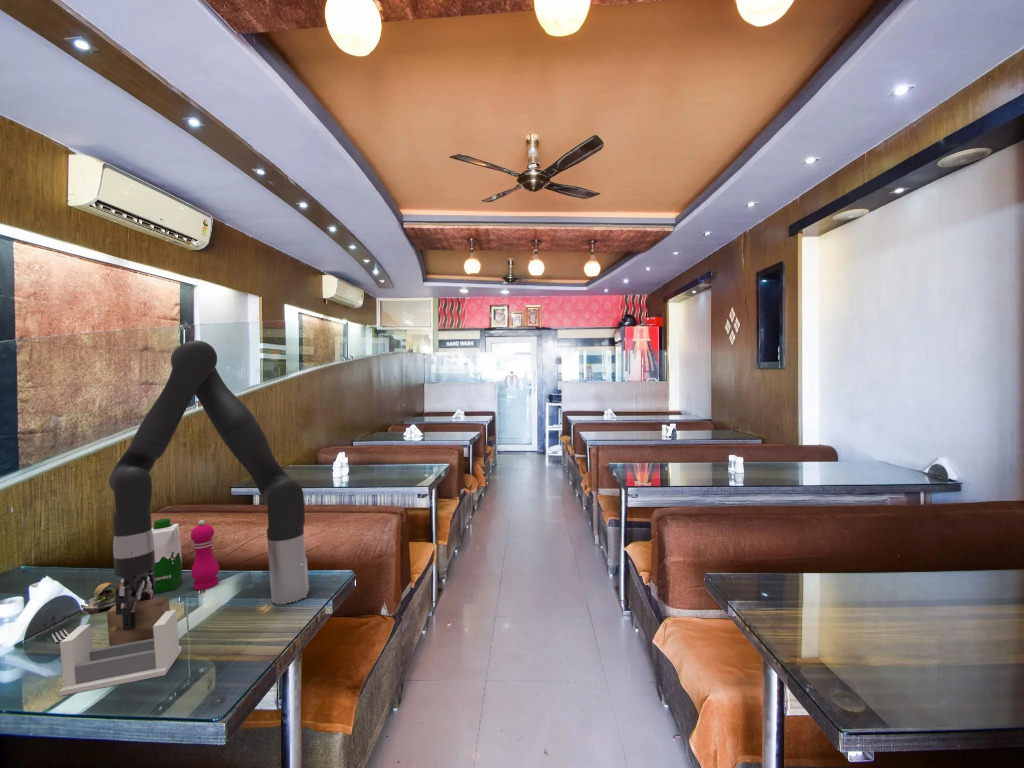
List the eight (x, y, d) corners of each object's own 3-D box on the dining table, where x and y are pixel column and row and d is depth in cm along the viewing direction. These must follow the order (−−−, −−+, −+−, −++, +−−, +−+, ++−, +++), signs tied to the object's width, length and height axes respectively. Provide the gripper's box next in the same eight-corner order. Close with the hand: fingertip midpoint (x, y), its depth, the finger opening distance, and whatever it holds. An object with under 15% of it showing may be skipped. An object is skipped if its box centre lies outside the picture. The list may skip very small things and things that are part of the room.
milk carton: (185, 579, 155) (180, 516, 155) (179, 589, 147) (175, 523, 147) (151, 585, 152) (146, 521, 151) (144, 597, 144) (138, 528, 143)
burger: (96, 617, 133) (94, 589, 132) (70, 611, 137) (68, 585, 137) (144, 597, 144) (142, 572, 144) (118, 593, 148) (116, 568, 148)
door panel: (171, 637, 119) (168, 596, 118) (164, 647, 114) (161, 604, 114) (117, 647, 115) (114, 605, 115) (108, 658, 111) (104, 614, 111)
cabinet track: (181, 650, 112) (178, 606, 112) (164, 675, 103) (161, 627, 103) (86, 668, 107) (83, 622, 107) (59, 696, 98) (55, 646, 98)
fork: (89, 666, 108) (88, 658, 108) (49, 641, 121) (49, 634, 121) (107, 659, 111) (106, 651, 111) (66, 635, 124) (66, 628, 124)
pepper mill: (200, 581, 152) (195, 517, 152) (224, 579, 153) (220, 515, 153) (186, 592, 145) (181, 524, 145) (212, 589, 146) (207, 522, 145)
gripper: (139, 559, 109) (143, 632, 109) (164, 539, 123) (168, 604, 123) (99, 564, 107) (103, 638, 107) (129, 544, 121) (133, 610, 121)
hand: (138, 620), depth 115 cm, fingers open, 8 cm apart
